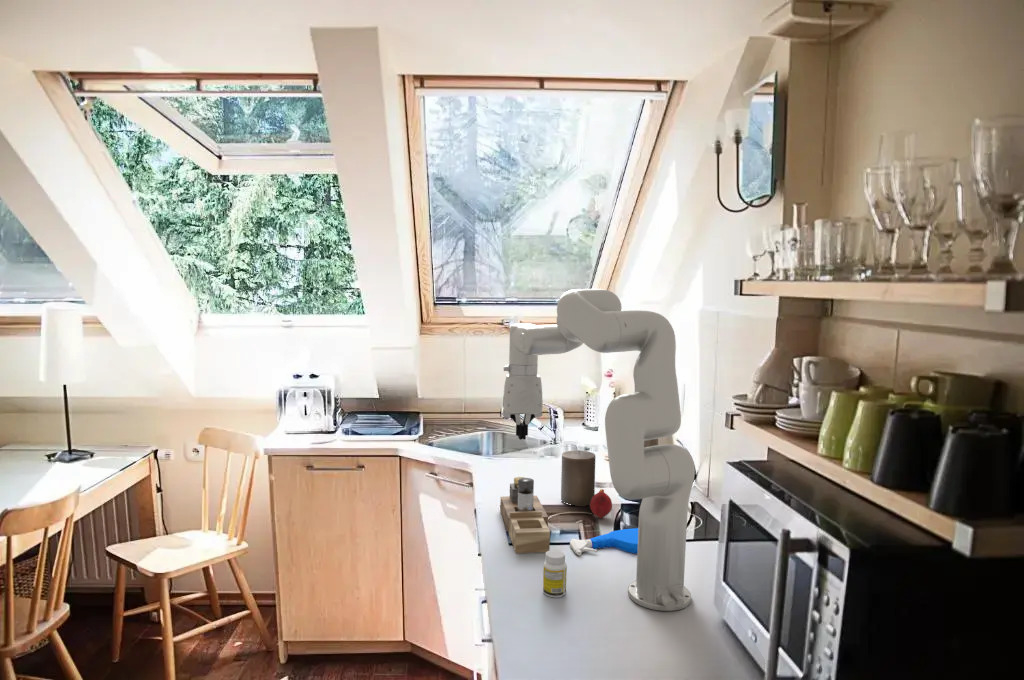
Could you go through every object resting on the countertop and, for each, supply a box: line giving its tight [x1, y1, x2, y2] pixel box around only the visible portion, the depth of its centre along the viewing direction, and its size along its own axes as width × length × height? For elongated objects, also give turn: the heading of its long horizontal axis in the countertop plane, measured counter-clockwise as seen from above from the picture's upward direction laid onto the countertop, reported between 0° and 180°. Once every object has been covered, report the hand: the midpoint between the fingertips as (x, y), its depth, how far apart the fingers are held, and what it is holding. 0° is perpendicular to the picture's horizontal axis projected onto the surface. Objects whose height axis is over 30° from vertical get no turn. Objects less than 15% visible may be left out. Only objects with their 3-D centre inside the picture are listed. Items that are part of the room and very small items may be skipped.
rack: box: [508, 511, 551, 554], centre depth 167 cm, size 11×8×6 cm
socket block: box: [499, 483, 549, 534], centre depth 181 cm, size 16×10×8 cm, turn 8°
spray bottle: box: [569, 527, 638, 556], centre depth 166 cm, size 3×11×24 cm
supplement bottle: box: [542, 549, 568, 599], centre depth 142 cm, size 5×5×8 cm
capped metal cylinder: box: [518, 477, 535, 511], centre depth 178 cm, size 4×4×12 cm
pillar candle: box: [560, 449, 596, 507], centre depth 197 cm, size 10×10×15 cm
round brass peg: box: [513, 476, 526, 488], centre depth 186 cm, size 4×4×4 cm
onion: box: [589, 488, 613, 519], centre depth 184 cm, size 6×6×8 cm
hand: (521, 438), depth 184 cm, fingers closed
